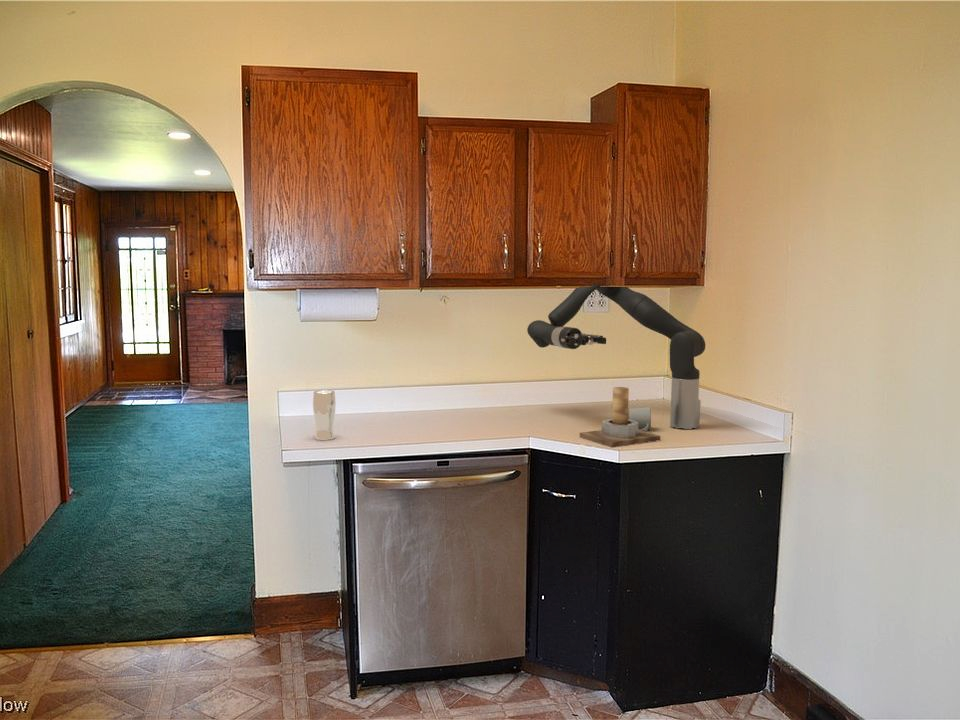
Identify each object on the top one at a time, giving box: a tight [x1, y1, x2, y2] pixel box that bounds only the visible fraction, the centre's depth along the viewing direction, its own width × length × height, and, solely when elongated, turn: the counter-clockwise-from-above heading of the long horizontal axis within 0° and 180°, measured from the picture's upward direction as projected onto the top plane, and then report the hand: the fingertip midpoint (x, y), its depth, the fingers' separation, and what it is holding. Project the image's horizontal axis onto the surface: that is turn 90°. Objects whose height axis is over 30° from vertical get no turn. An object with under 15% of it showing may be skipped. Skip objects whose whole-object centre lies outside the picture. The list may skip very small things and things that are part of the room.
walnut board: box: [579, 429, 661, 448], centre depth 255 cm, size 20×16×2 cm
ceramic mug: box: [628, 406, 652, 432], centre depth 268 cm, size 11×8×8 cm
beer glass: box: [312, 389, 336, 441], centre depth 252 cm, size 7×7×15 cm
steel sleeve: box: [601, 418, 639, 438], centre depth 254 cm, size 11×11×4 cm
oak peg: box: [611, 386, 630, 424], centre depth 254 cm, size 5×5×15 cm
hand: (595, 341), depth 266 cm, fingers open, 8 cm apart
